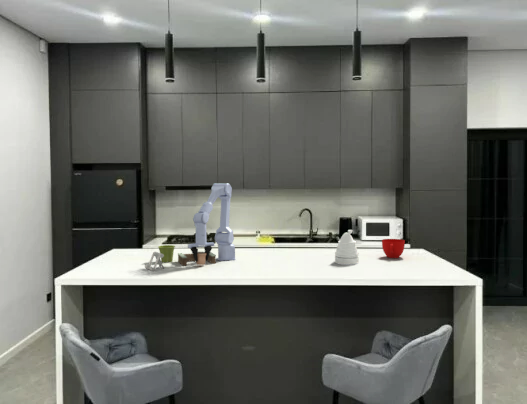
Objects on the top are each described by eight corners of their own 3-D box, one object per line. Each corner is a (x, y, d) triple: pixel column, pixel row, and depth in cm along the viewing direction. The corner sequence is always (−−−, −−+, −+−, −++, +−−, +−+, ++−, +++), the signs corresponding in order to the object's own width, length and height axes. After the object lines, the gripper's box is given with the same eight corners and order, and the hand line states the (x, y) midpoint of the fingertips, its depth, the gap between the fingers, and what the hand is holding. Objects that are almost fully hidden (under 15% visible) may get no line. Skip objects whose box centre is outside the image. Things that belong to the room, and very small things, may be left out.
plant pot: (171, 263, 249) (171, 247, 249) (155, 262, 251) (155, 247, 251) (177, 260, 259) (177, 245, 258) (162, 259, 261) (162, 245, 260)
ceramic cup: (379, 259, 259) (379, 241, 259) (383, 254, 275) (383, 238, 274) (402, 260, 254) (403, 243, 254) (405, 256, 270) (405, 239, 270)
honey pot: (360, 261, 253) (361, 229, 252) (355, 265, 241) (355, 231, 241) (338, 259, 258) (338, 228, 258) (332, 263, 247) (332, 230, 246)
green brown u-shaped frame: (209, 259, 262) (209, 251, 262) (215, 263, 249) (215, 255, 249) (177, 261, 255) (177, 253, 255) (182, 265, 242) (182, 257, 242)
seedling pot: (203, 262, 246) (203, 251, 245) (207, 264, 241) (208, 253, 240) (193, 263, 243) (193, 251, 242) (197, 265, 238) (198, 253, 237)
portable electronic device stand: (144, 268, 235) (144, 252, 235) (158, 266, 240) (158, 251, 239) (151, 271, 228) (151, 254, 228) (165, 269, 233) (165, 253, 233)
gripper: (210, 233, 248) (210, 258, 248) (185, 235, 240) (185, 260, 241) (215, 234, 242) (216, 260, 242) (190, 236, 234) (190, 262, 235)
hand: (201, 260), depth 241 cm, fingers closed on seedling pot, 5 cm apart
